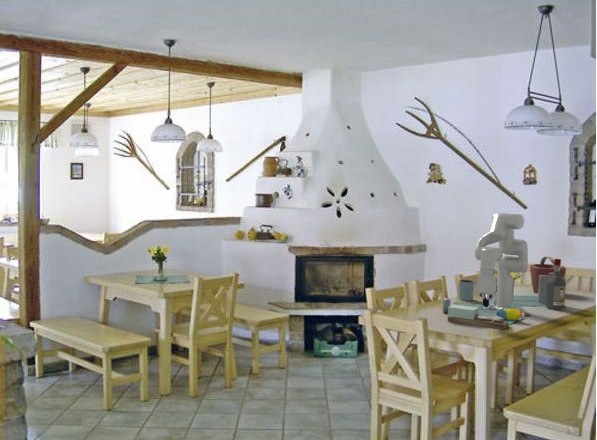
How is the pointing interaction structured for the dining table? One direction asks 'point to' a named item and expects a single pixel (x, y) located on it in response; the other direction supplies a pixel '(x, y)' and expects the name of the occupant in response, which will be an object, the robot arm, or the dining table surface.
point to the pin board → (481, 322)
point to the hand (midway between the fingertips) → (485, 306)
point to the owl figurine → (510, 314)
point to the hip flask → (543, 287)
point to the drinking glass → (466, 290)
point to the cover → (463, 312)
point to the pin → (446, 305)
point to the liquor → (556, 289)
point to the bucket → (543, 271)
